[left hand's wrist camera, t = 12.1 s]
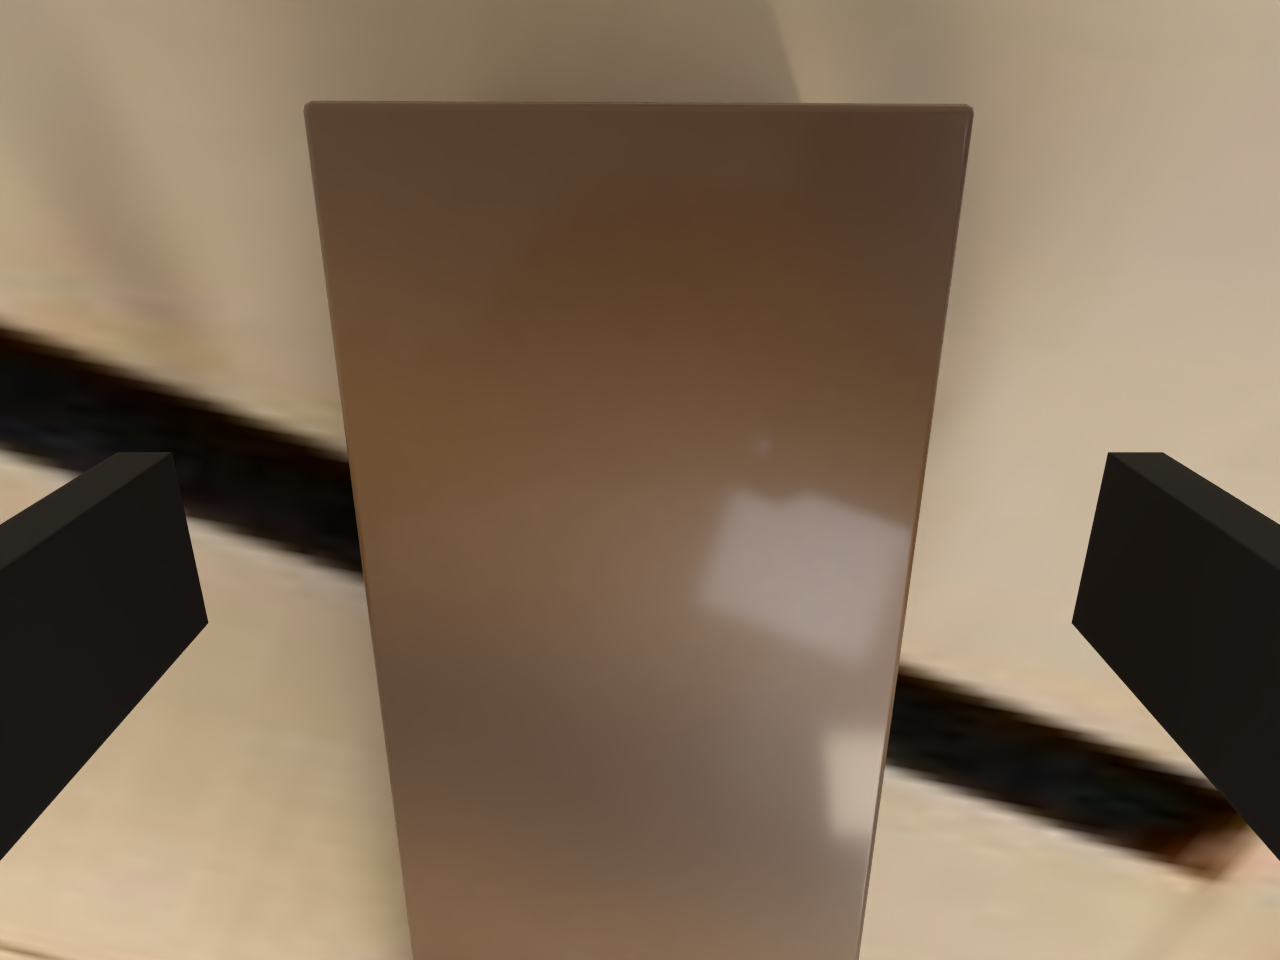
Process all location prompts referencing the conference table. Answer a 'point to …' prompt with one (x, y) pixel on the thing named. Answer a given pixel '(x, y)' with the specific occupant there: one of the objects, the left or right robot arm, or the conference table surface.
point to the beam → (637, 502)
